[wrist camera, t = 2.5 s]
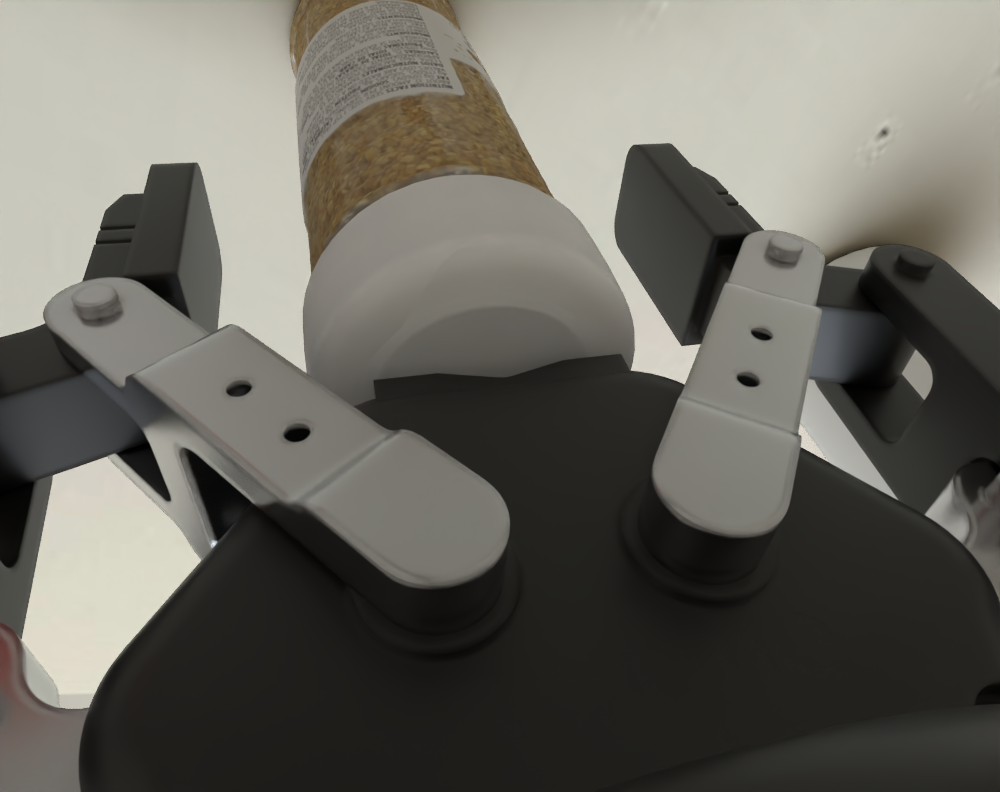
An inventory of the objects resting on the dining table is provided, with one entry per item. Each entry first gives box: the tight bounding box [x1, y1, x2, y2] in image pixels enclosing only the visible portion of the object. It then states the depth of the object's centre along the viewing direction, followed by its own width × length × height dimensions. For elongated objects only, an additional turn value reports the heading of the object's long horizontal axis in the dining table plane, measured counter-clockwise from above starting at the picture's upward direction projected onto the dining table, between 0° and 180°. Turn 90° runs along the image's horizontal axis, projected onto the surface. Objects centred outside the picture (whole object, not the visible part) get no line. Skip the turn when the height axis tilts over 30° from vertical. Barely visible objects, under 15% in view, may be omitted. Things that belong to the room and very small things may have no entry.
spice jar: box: [290, 0, 635, 407], centre depth 14 cm, size 5×5×14 cm
